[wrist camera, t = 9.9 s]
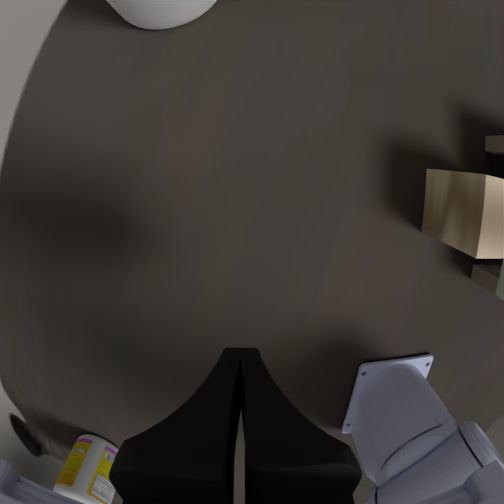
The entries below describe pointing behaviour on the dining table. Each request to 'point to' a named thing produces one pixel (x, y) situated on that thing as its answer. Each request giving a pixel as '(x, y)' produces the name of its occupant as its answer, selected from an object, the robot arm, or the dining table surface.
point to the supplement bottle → (88, 471)
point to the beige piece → (465, 212)
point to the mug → (160, 12)
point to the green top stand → (500, 282)
